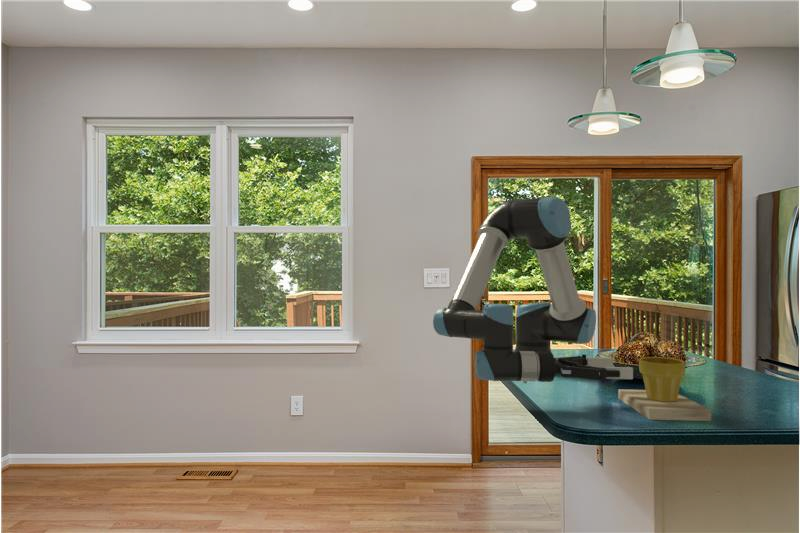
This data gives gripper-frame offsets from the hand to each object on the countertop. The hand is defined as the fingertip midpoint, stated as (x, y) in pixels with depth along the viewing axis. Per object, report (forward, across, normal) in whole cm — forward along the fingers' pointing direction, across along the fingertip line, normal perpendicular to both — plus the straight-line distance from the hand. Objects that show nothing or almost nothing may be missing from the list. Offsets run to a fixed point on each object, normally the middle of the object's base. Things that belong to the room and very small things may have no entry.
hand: (622, 368), depth 133 cm
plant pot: (+10, 0, -8) cm, 12 cm away
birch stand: (+10, 0, -10) cm, 14 cm away
